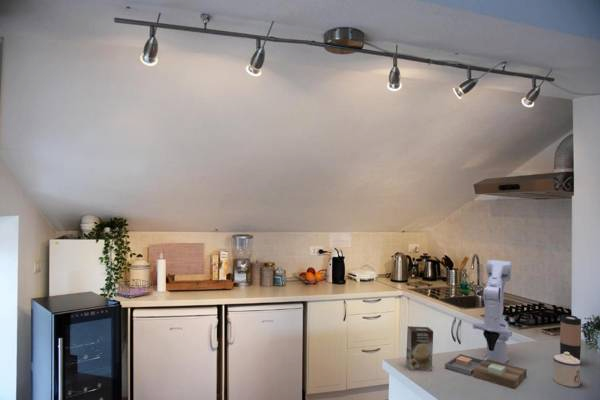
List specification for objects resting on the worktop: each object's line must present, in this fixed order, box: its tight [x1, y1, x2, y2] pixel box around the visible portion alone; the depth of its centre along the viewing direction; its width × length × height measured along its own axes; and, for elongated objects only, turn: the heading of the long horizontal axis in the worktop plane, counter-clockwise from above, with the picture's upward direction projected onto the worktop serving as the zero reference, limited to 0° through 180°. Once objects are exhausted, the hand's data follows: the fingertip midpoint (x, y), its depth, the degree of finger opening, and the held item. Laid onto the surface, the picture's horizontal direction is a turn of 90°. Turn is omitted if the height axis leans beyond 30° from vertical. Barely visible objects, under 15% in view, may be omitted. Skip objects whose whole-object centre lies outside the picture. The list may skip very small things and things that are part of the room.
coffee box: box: [405, 326, 434, 371], centre depth 171 cm, size 9×6×16 cm
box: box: [444, 353, 484, 377], centre depth 173 cm, size 16×10×2 cm, turn 137°
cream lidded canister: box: [552, 352, 582, 388], centre depth 161 cm, size 12×9×12 cm
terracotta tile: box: [456, 356, 472, 367], centre depth 175 cm, size 5×5×2 cm
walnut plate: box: [472, 359, 527, 390], centre depth 164 cm, size 16×15×3 cm
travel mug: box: [559, 314, 582, 361], centre depth 181 cm, size 8×8×20 cm
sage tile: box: [488, 363, 506, 376], centre depth 161 cm, size 5×5×2 cm
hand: (491, 350), depth 166 cm, fingers closed
